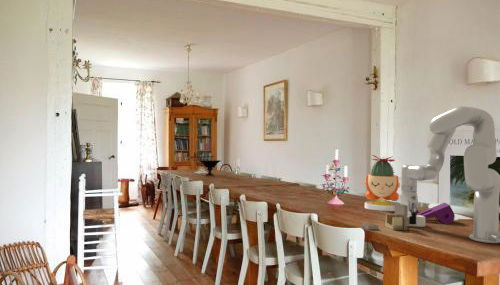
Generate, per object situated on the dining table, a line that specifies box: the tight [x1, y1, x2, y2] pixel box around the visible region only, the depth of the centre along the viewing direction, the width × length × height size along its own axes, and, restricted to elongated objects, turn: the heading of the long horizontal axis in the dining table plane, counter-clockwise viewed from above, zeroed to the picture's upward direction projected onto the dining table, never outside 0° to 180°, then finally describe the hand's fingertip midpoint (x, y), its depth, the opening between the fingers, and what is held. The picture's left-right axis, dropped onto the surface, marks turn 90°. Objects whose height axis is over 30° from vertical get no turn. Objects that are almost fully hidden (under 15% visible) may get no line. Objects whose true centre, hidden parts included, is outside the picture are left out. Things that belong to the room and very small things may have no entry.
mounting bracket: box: [417, 202, 455, 224], centre depth 215 cm, size 10×9×19 cm
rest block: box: [361, 221, 379, 231], centre depth 194 cm, size 8×5×2 cm, turn 4°
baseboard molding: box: [423, 207, 473, 222], centre depth 234 cm, size 31×3×12 cm
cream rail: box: [407, 215, 426, 227], centre depth 202 cm, size 14×5×5 cm, turn 93°
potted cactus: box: [363, 154, 401, 212], centre depth 257 cm, size 22×22×35 cm
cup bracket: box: [384, 201, 408, 231], centre depth 194 cm, size 11×7×12 cm, turn 4°
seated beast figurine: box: [398, 194, 410, 215], centre depth 236 cm, size 10×9×12 cm
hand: (408, 222), depth 202 cm, fingers open, 8 cm apart
